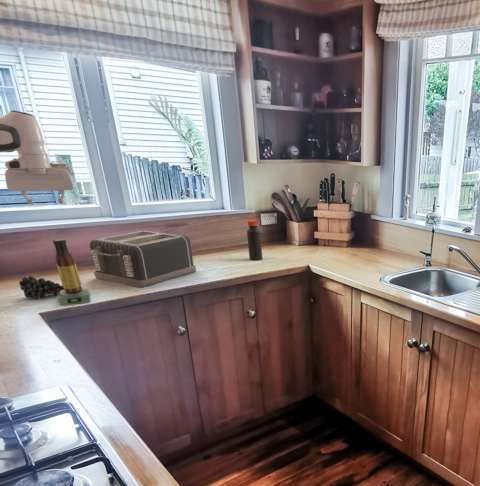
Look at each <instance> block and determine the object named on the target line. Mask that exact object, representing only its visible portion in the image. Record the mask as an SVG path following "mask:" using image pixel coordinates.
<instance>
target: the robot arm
mask: <svg viewBox="0 0 480 486" xmlns="http://www.w3.org/2000/svg"><path fill="white" fill-rule="evenodd" d="M13 152H17V155H18V157H17V158H13V159H11V160H8V161H5V163H4V166H5V167H6V170H5V172H4V179H5V185H6V188H7V189H8V191H10V192H20V194H21V196H22V197H23V198H24V199H25V200H26V202H27V205H34V201H33V198H30V197H29V196H28V195H27V194H28V192H43V191H44V192H45V191H58V192H59V194H60V197H57V201H58V204H64V197H65V194H66V192H65V191H74V189H75V184H74V180H73V178H72V176H73V170H72V167H71V166H70V165H68V164H66V163H65V162H61V163H58V162H51V158H50V156H49V151H48V150H47V148H46V140H45V136H44V132H43V129H42V126H41V124H40V121H39V120H38V118H37V117H36V116H35V115H33V114H31V113H28V112H24V111H19V110H9V111H8V112H6V113H5V114H4V115H2V116H0V153H13Z"/></svg>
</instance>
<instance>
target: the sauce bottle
mask: <svg viewBox="0 0 480 486" xmlns="http://www.w3.org/2000/svg"><path fill="white" fill-rule="evenodd" d="M52 244H53V246H54V248H55V252H56V253H55V265H56V269H57V272H58V275H59V278H60V282H61V286H63V288H64V290H65V291H66V292H77V291H80V290H82V287H83V286H82V281H81V278H80V274H79V270H78V267H77V263H76V262H75V261H76V260H75V257H74V255H73V254H72V253H71V252H70V251H69V249H68V246H67V241H66V238H54V239H52Z"/></svg>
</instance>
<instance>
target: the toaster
mask: <svg viewBox="0 0 480 486" xmlns="http://www.w3.org/2000/svg"><path fill="white" fill-rule="evenodd" d="M89 249H90V254H91V257H92V262H93V266H94V270H95V271H93V275H94V277H95V279H98V280H102V281H107V282H112V283H117V284H121V285H125V286H126V285H127V286H131V287H135V288H141V289H142V288H145V287H149V286H151V285H155V284H159V283H161V282H166V281H168V280H171V279H175V278H178V277H182V276H185V275H189V274H191V273H195V272H196V271H197V266H196V265H194V260H193V259H194V258H193V252H192V251H193V250H192V245H191V240H190V238H189V237H188V236H186V235H183V234H176V233H169V232H162V231H155V230H154V231H153V230H139V231H134V232H129V233H123V234H117V235H112V236H105V237H101V238H98V239H94V240H91V241H90V242H89Z"/></svg>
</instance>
